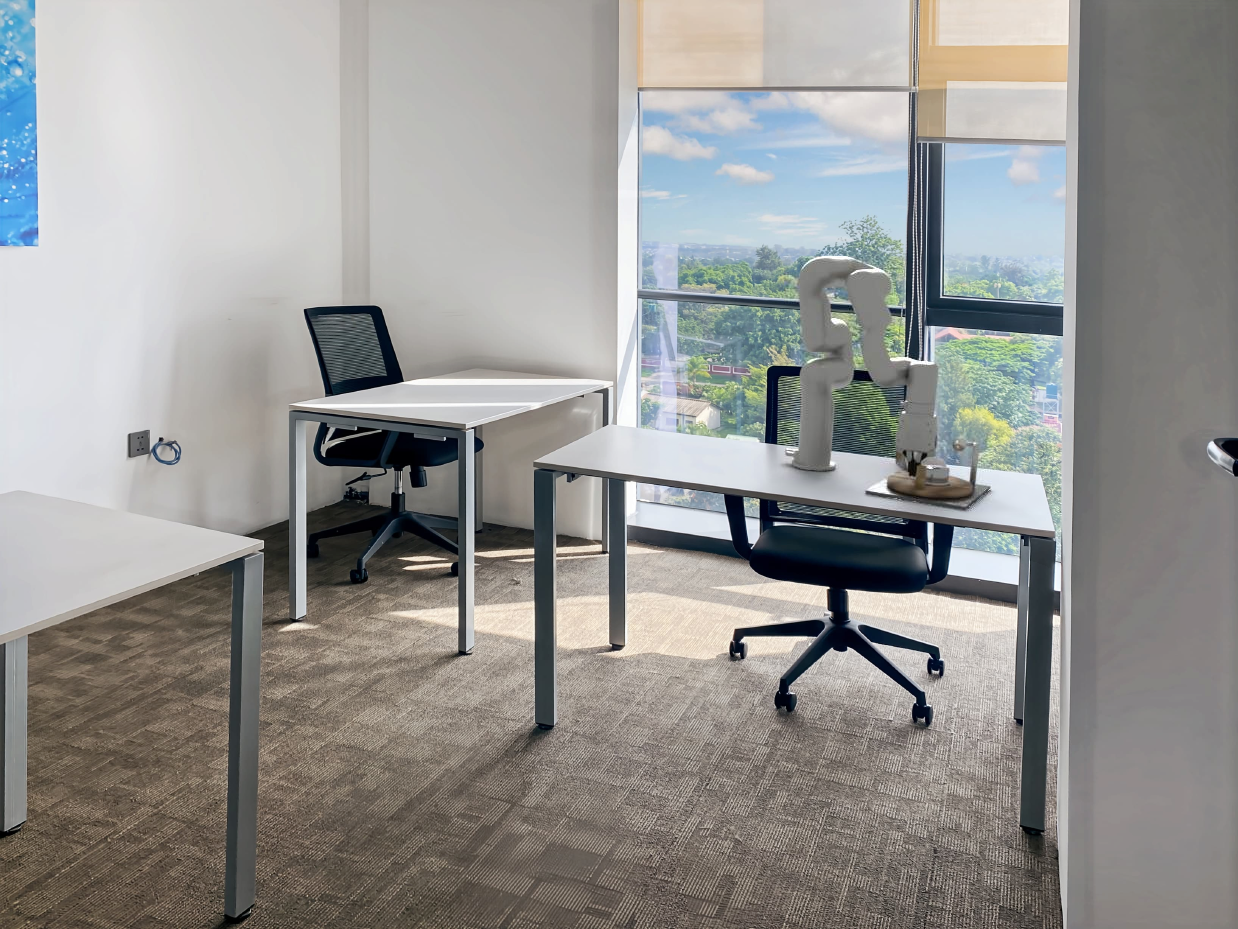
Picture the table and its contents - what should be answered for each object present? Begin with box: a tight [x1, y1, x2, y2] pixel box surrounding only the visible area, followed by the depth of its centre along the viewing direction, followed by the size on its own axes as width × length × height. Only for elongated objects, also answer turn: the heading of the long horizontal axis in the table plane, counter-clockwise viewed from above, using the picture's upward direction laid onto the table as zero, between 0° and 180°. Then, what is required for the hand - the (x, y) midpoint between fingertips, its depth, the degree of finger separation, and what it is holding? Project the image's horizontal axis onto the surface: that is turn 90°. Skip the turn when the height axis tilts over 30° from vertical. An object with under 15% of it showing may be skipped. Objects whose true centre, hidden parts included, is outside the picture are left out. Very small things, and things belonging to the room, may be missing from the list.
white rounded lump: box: [905, 451, 947, 468], centre depth 298 cm, size 6×8×12 cm
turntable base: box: [864, 437, 992, 511], centre depth 277 cm, size 26×26×14 cm
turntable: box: [886, 465, 973, 498], centre depth 278 cm, size 22×22×7 cm
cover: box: [924, 465, 950, 486], centre depth 277 cm, size 8×8×4 cm
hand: (913, 475), depth 280 cm, fingers closed
